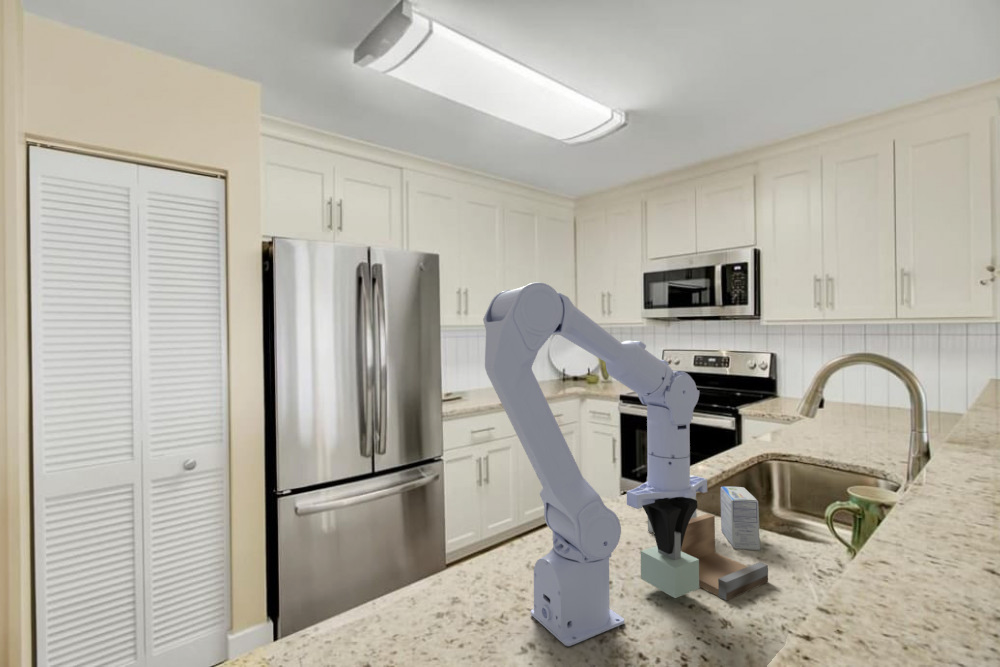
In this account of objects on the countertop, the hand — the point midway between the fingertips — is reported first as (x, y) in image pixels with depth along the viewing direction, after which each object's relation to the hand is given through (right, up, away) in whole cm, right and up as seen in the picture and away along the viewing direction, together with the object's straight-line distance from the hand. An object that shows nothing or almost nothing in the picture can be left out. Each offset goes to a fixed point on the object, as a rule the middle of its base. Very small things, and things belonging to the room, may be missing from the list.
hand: (669, 549), depth 66 cm
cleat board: (+9, -6, +5) cm, 12 cm away
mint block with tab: (0, -5, 0) cm, 5 cm away
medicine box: (+19, -7, +18) cm, 27 cm away
